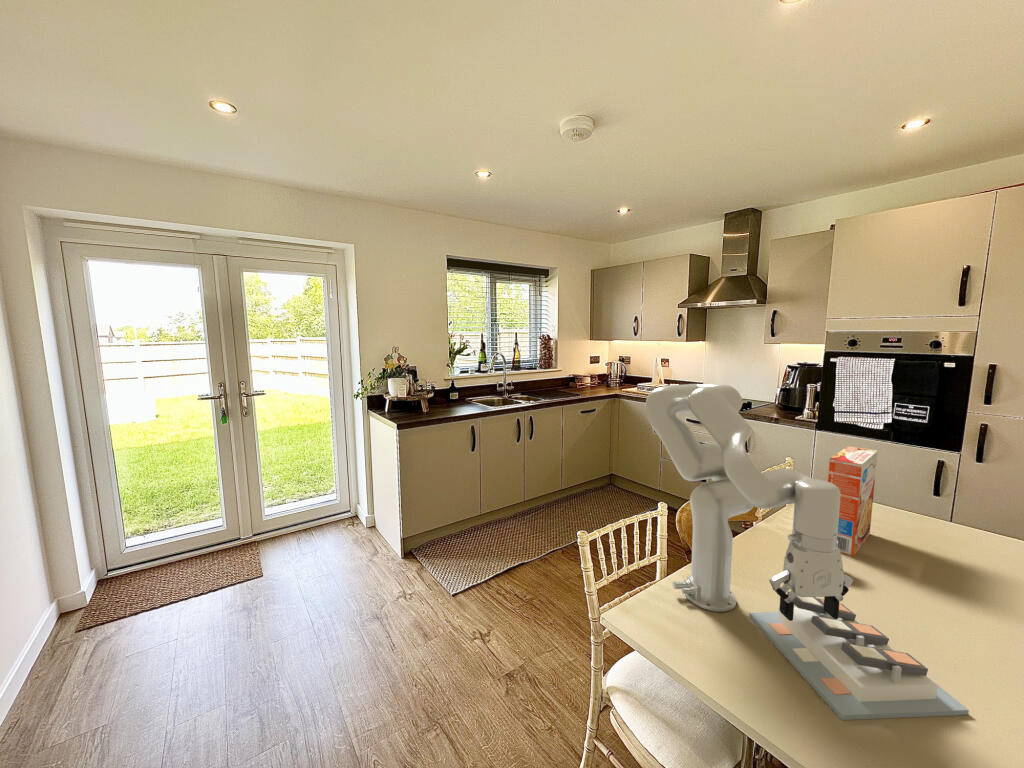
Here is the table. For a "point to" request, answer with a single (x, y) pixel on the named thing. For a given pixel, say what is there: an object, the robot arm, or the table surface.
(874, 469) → the orange cereal box
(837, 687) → the switch unit
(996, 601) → the table surface
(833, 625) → the rocker
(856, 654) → the rocker
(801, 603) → the rocker
